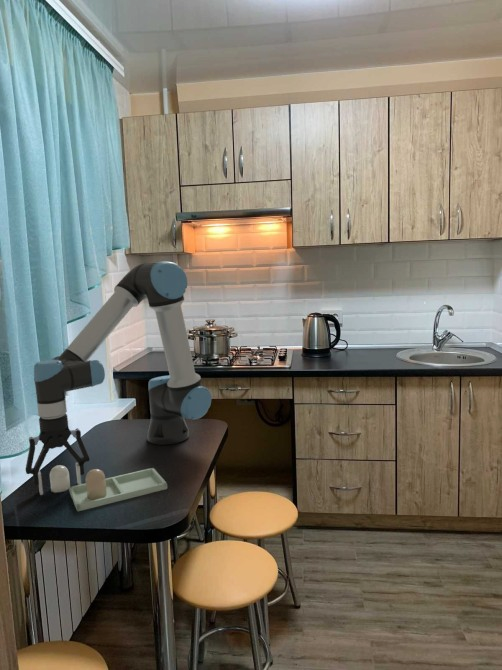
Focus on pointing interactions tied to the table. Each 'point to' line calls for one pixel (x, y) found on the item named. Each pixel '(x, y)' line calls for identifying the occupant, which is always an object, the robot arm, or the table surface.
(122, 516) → the table surface
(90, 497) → the egg brown
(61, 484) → the egg white
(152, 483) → the green divided tray
